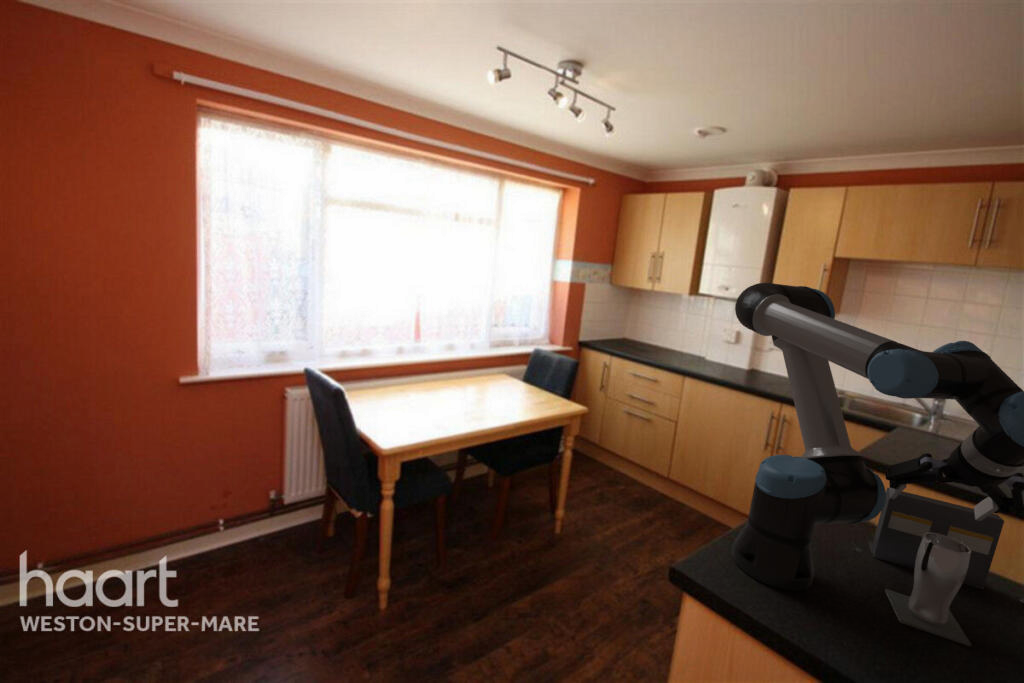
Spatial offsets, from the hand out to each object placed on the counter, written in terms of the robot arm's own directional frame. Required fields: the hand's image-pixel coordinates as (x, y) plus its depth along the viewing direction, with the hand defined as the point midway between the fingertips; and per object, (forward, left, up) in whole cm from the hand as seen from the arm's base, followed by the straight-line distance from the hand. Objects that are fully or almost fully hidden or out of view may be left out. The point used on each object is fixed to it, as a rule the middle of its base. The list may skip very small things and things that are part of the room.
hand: (932, 503), depth 95 cm
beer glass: (0, -11, -18) cm, 21 cm away
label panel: (+5, +10, -19) cm, 22 cm away
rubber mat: (-1, -11, -19) cm, 22 cm away
